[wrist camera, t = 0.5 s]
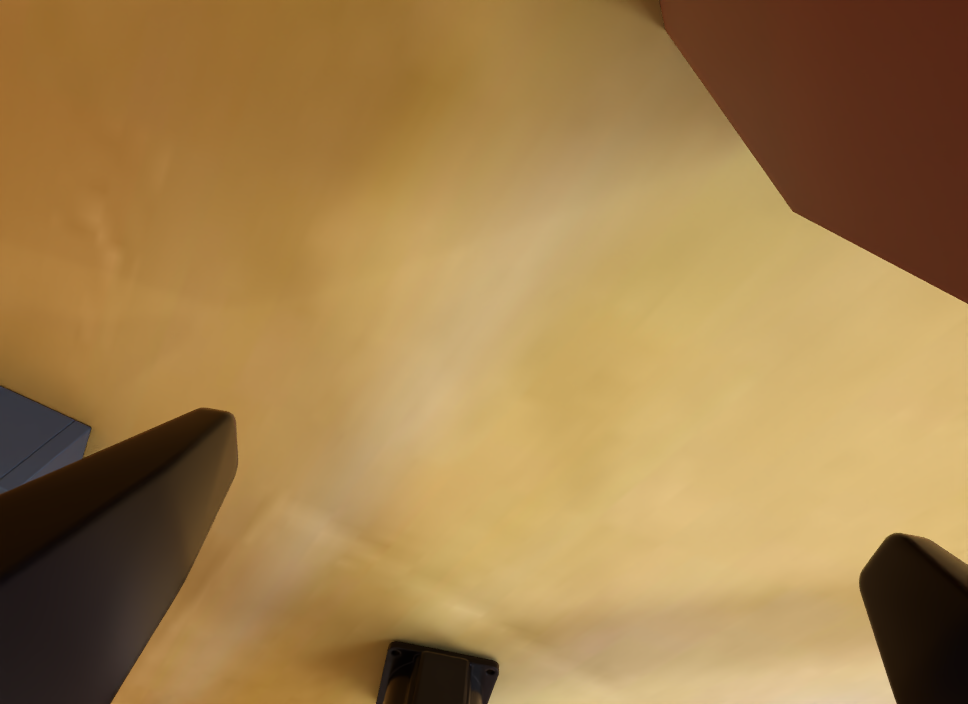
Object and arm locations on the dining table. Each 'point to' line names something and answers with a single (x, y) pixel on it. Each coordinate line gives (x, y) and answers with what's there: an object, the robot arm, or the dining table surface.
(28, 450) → the basket
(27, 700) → the robot arm
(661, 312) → the dining table surface
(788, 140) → the bucket
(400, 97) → the dining table surface
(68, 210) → the dining table surface
